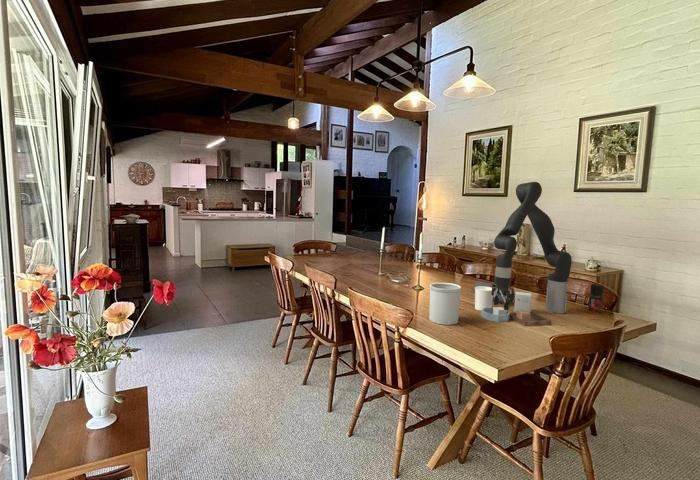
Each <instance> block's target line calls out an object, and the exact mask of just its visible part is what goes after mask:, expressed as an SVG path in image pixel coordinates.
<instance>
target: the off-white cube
mask: <svg viewBox="0 0 700 480" xmlns="http://www.w3.org/2000/svg"><path fill="white" fill-rule="evenodd" d="M493 307H494V306H493ZM507 311H508V310H504V307H502V306H497V307H496V306H495V307H494V308H493V314H495V315H506V313H507Z"/></svg>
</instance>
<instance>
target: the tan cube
mask: <svg viewBox="0 0 700 480" xmlns="http://www.w3.org/2000/svg"><path fill="white" fill-rule="evenodd" d="M530 314H531V313H529V312H527V311H525V310H523V311H517V312H516V317H517V318H519V319H521V320H523V321H525V322H527V321H530Z"/></svg>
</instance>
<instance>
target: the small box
mask: <svg viewBox="0 0 700 480" xmlns="http://www.w3.org/2000/svg"><path fill="white" fill-rule="evenodd" d="M532 299H533V294H532V292H531V293H530V292H524V291H523V292H522V291H515V298H514V309H513V312H517V311H523V310H525V311H527V312H532Z"/></svg>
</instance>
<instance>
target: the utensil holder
mask: <svg viewBox="0 0 700 480" xmlns="http://www.w3.org/2000/svg"><path fill="white" fill-rule="evenodd" d="M461 291H462V286H461V285H459V284H456V283H451V282H450V283H449V282H432V283H430V284H429V308H428V309H429V313H428V314H429V316H428V317H429V319H428V320H429V321H430V322H432V323H434V324H437V325H444V326H451V325H457V324H458V322H459V315H460V299H461Z"/></svg>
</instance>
